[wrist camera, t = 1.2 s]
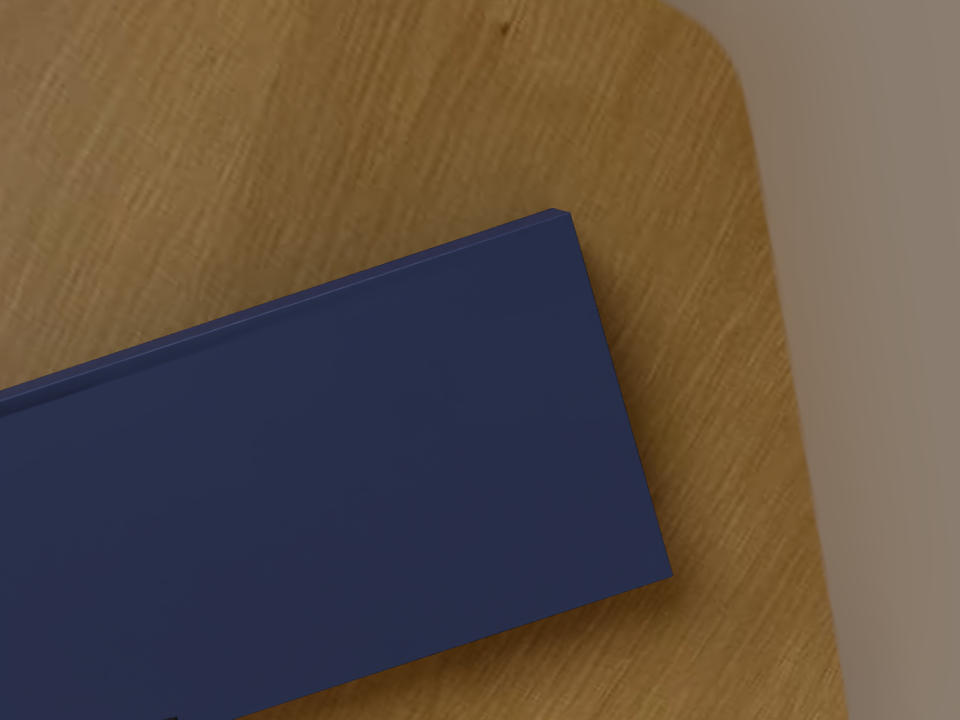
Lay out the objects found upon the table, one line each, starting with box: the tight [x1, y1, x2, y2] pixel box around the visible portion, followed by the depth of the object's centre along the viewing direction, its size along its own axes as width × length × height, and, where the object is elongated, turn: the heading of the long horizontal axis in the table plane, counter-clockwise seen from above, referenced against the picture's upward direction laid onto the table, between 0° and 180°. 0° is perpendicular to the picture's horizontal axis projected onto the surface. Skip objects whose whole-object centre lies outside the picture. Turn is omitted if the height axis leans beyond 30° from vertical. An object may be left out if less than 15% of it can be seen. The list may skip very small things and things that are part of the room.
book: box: [0, 208, 673, 720], centre depth 26 cm, size 24×13×3 cm, turn 108°
